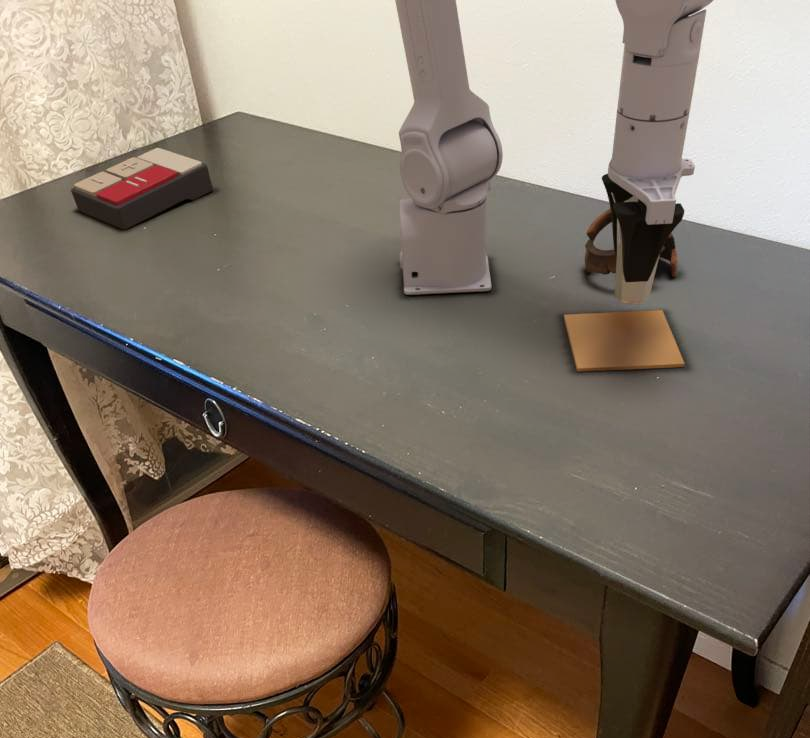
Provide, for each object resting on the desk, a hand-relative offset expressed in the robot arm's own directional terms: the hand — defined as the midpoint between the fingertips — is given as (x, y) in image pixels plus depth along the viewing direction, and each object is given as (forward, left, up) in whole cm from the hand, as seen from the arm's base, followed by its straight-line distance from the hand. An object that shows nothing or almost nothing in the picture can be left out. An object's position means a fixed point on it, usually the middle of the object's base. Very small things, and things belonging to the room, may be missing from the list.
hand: (631, 267), depth 78 cm
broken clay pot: (+3, +15, -8) cm, 17 cm away
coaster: (0, 0, -8) cm, 8 cm away
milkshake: (0, 0, -3) cm, 3 cm away
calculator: (-57, +41, -8) cm, 71 cm away
